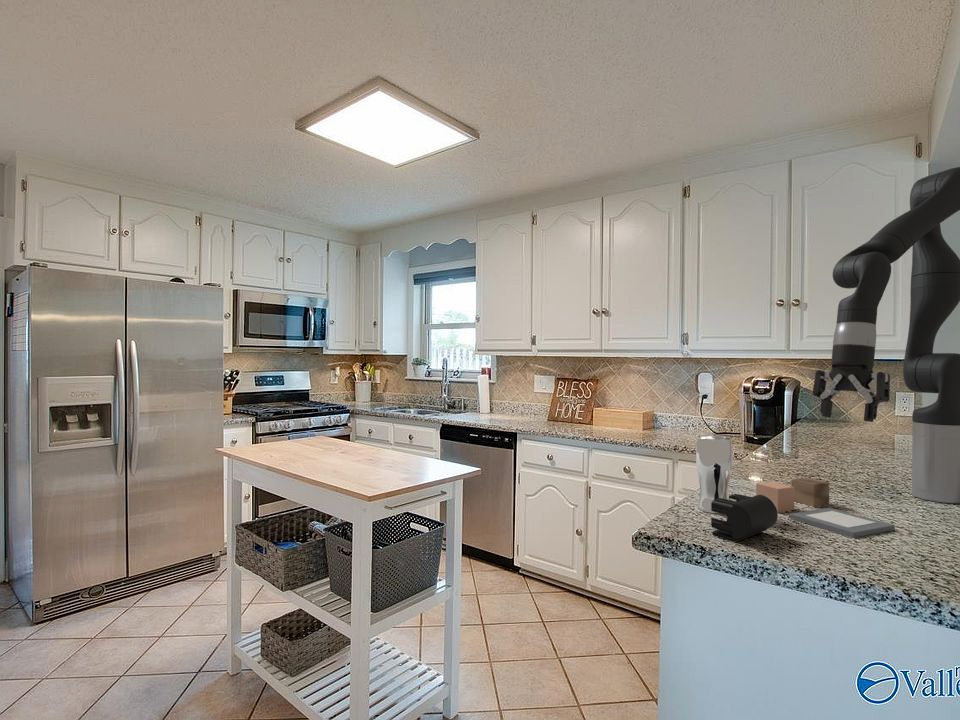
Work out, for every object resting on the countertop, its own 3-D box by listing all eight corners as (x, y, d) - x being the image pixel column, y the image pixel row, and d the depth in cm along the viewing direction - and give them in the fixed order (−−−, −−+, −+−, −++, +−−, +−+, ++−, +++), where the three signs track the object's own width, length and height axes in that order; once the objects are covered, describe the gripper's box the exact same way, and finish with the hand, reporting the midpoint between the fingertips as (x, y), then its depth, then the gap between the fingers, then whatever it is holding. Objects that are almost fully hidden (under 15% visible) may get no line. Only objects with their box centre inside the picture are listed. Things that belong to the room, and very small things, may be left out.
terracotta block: (772, 504, 112) (772, 481, 112) (794, 510, 107) (794, 486, 107) (756, 507, 110) (756, 483, 110) (777, 513, 105) (777, 488, 105)
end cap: (750, 547, 85) (750, 506, 85) (709, 536, 91) (709, 497, 91) (778, 536, 91) (778, 497, 91) (738, 525, 97) (738, 489, 97)
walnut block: (806, 499, 116) (806, 477, 116) (829, 505, 112) (829, 482, 112) (791, 502, 114) (791, 479, 114) (813, 508, 110) (813, 484, 110)
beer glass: (736, 515, 103) (737, 440, 103) (699, 513, 104) (700, 439, 105) (727, 506, 110) (727, 435, 110) (692, 504, 111) (693, 434, 111)
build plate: (828, 512, 106) (828, 507, 106) (894, 529, 95) (894, 524, 95) (788, 518, 101) (788, 513, 101) (853, 537, 90) (853, 532, 90)
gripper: (901, 347, 107) (894, 424, 107) (830, 347, 120) (823, 416, 120) (880, 342, 104) (873, 422, 104) (810, 343, 117) (803, 414, 117)
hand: (846, 419), depth 112 cm, fingers open, 8 cm apart
